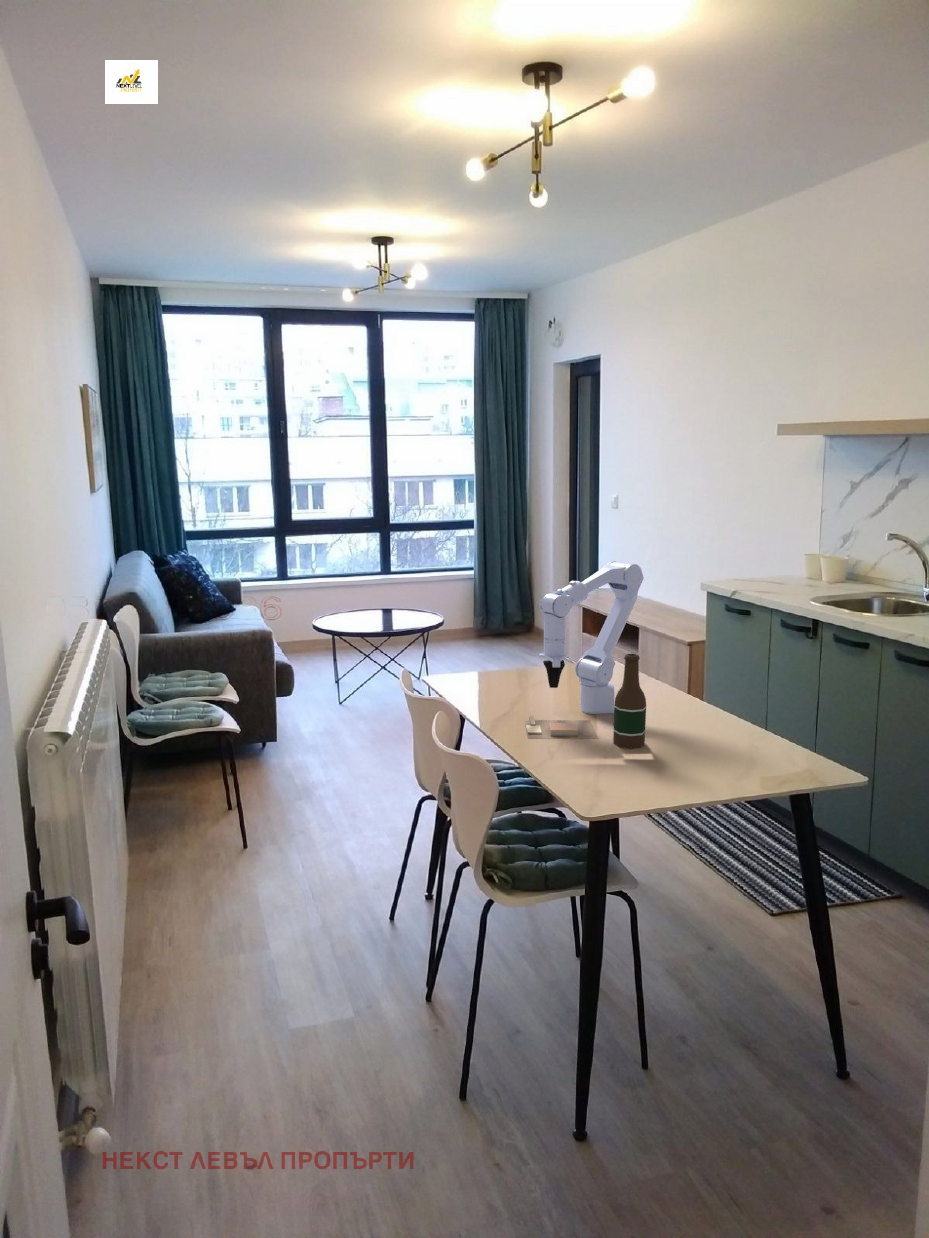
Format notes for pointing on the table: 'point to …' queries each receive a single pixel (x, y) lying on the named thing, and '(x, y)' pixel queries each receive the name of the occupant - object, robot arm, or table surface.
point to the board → (584, 732)
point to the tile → (563, 729)
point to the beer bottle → (630, 708)
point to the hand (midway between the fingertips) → (553, 687)
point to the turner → (533, 727)
